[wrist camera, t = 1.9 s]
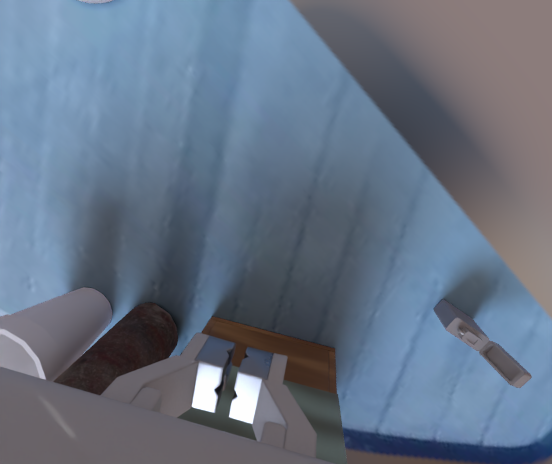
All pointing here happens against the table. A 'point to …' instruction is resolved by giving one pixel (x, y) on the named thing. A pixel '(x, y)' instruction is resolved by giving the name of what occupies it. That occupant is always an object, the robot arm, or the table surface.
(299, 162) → the table surface
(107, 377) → the dark brown rough cylinder
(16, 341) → the foam cup
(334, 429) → the pale green flat panel
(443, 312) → the lighter
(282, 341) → the box
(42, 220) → the table surface
